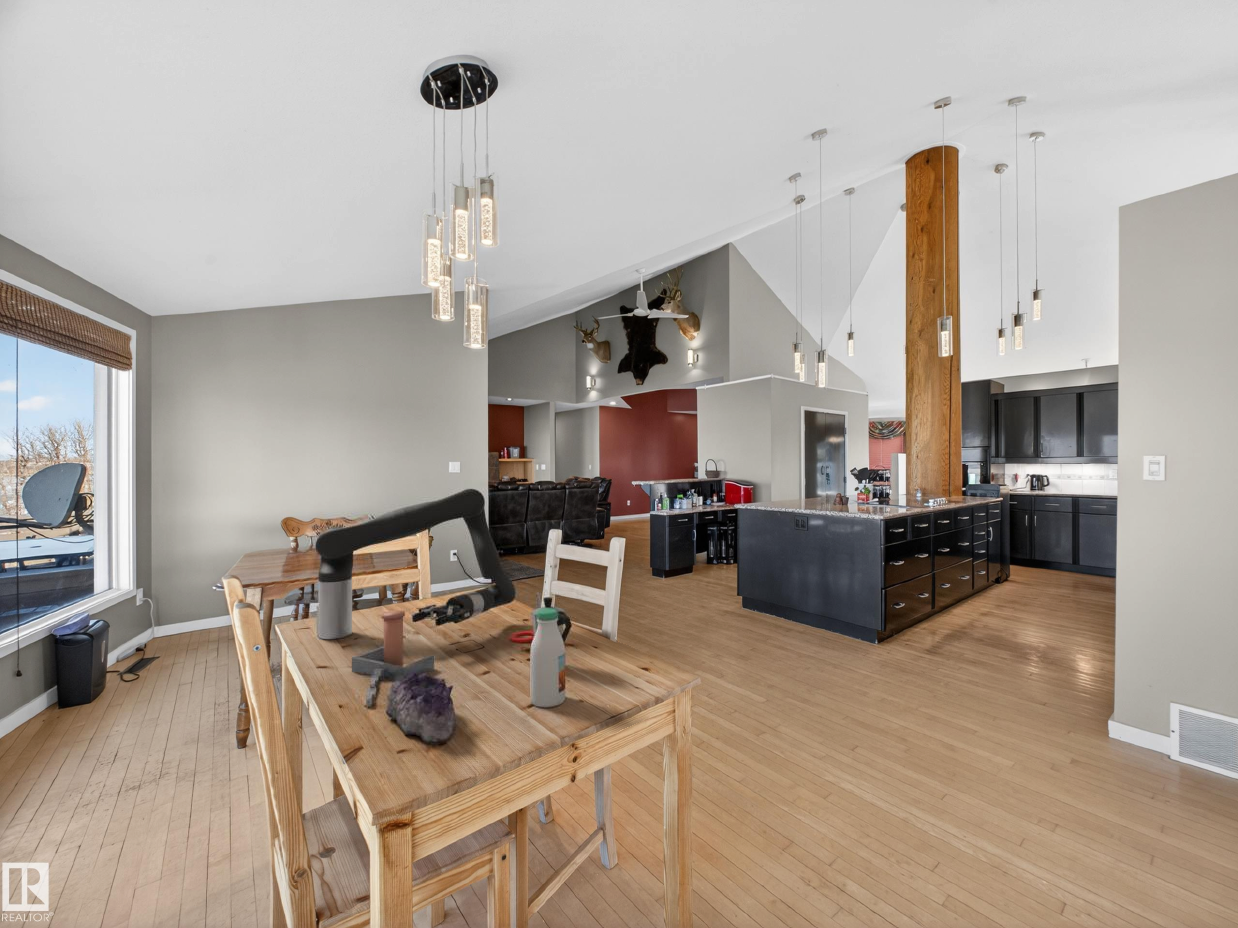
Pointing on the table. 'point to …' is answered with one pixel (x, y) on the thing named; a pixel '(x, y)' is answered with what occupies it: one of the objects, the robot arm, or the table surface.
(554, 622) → the milk bottle
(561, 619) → the coffee maker
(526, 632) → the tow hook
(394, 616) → the pin
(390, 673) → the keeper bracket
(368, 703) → the chain
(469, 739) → the table surface
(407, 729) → the geode
